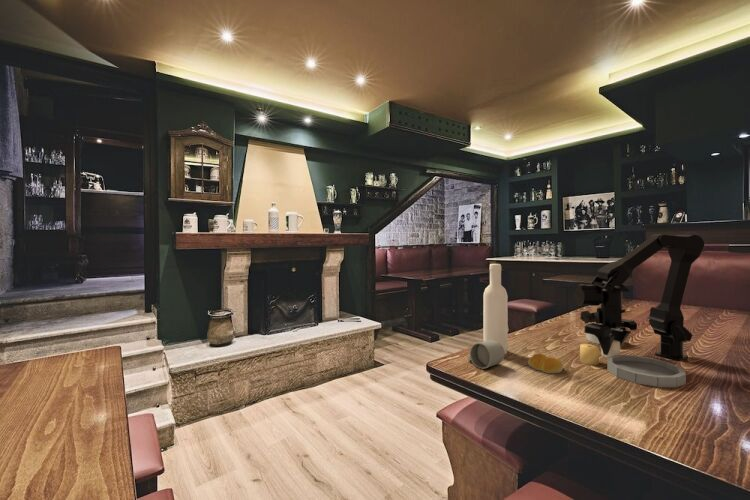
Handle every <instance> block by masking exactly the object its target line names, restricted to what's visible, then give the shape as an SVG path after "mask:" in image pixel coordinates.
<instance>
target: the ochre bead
mask: <svg viewBox="0 0 750 500" xmlns="http://www.w3.org/2000/svg"><path fill="white" fill-rule="evenodd" d="M579 362H580V363H582V364H584V365H589V366H598V365H599V364H600V347H599V346H597V345H596V344H595V345H594V344H591V343H581V344H580V345H579Z"/></svg>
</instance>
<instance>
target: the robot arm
mask: <svg viewBox="0 0 750 500" xmlns="http://www.w3.org/2000/svg"><path fill="white" fill-rule="evenodd" d="M705 245H706V243H705V240H704V239H703V238H702V237H701V236H700V235H697V234H676V235H670V234H669V235H668V234H664V233H662V234H661V233H659V234H658V233H656V234H651V235H649V237H648V238H647V239H645V240H644V241H643V242H642V243H640V244H639V245H638V246H637V247H635V248H634V249H632V250H631V251H630V252H629V253H627V254H626V255H624V256H623V257H621V258H620V259H618V260H616V261H612V262H609V263H607V264H605V265H603V266H601V267H600V268H599V269H598V270H597V274H596V276H595V277H594V279H592V281H591V282H590V284H582V283H581V284H580V283H579V284H578V287H577V288H576V289H575V293H574V301H575V303H576V305H578V306H582V307H585V306H587V307H588V306H589V307H590V306H592V307H593V306H597V308H596V312H595V311H594V312H590V311H589V310H584V311H581V312H580V318H579V319H580V320H581V321H582V322H584V324H585V325H586V326H585V325H584V329H583V330H584V333H585V334H586V333H588V334H592V335H595V336H596V337H597V338H598V340H599V343H600V344H599V346H600V348H602V351H603V354H605V355H608V353H609V351H610V348H611V345H612V342H613V340H617V341H619V342H620V348H622V346H623V344H624V342H625V341H626V339H627V338H628V337H629V336H630V335H631V334H632V331H637V330H638V323H637V322H636V321H635V320H631V319H626V318H623V314H625V313H626V309H624V308H623V293H630V292H631V291H630V289H629V288H627V287H626V285H625V284H624V283H625V282H626V281H628V279H630V277H631V275H632V273H633V271H635V269H636V268H638V267H639V266H641V264H643V263H644V262H646V261H647V260H649V259H650V258H651V257H652V256H654V255H655V254H657V253H658V252H659V251H661V250H662V249H663V248H664V249H668V250H667V253H668V255H669V258H670V266H669V269H668V273H667V276H666V281H665V285H664V289H663V292H662V296H661V297H662V298H661V301H660V303H659V304H658V305H657V306H656V307H653V306H651V307H650V311H649V315H648V317H647V319H649V320H648V324H649V325H650V327H651V328H652V330H653V332H654V333H653V334H655V335H659V336H660V337H659V339H660V340H659V341H660V343H659V344H660V345H659V351H657V352H654V355H656V356H659V357H664V358H668V359H672V360H675V361H681V360H684V359H689V355H688V354H687V355H686V354H684V343H685V342H691V340H692V337H693V333H691V332H690V331H689V330H688V329H687V328H686V327H685V326H684V322H685V316H684V314H683V311H682V308H681V307H682V303H683V299H684V294H685V293H686V292H685V291H686V288H687V284H688V279H689V276H690V271H691V268H692V265H693V263H694V262H695V261H697V259H698V258H699V257H701V254H702V252H703V250H704V248H705ZM598 306H599V307H598ZM627 329H629V330H630V331H629V330H627Z"/></svg>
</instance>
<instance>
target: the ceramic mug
mask: <svg viewBox="0 0 750 500" xmlns="http://www.w3.org/2000/svg"><path fill="white" fill-rule="evenodd" d="M483 341H484V340H483ZM483 341H478V342H475V343H473V344H472V345H471V347H470V349H469V354H468V355H467V359H468V361H471V362H472V364H473V365H474V366H475V367H476V368H478V369H480V368H481V370H484V369H488V368H490V367H493V366H497V365H499V364H500V363H502V362H503V361H504V359H505V355H506V354H505V353H504V349H503V347H502V346H501V344H500V343H498V342H496V341H484V342H483Z"/></svg>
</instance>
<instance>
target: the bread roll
mask: <svg viewBox="0 0 750 500" xmlns="http://www.w3.org/2000/svg"><path fill="white" fill-rule="evenodd" d="M527 363H528V366H529V367H530V368H531V369H533V370H535V371H539V372H542V373H546V374H559V373H562V372H563V368H564V367H563V366H564V365H563V363H562V361H561V360H560V359H558V358H555V357H553V356H552V357H550V356H549V357H548V356H547V355H546V354H542V353H536V354H533V355H532V356H531V357H529V358H528V361H527Z"/></svg>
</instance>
